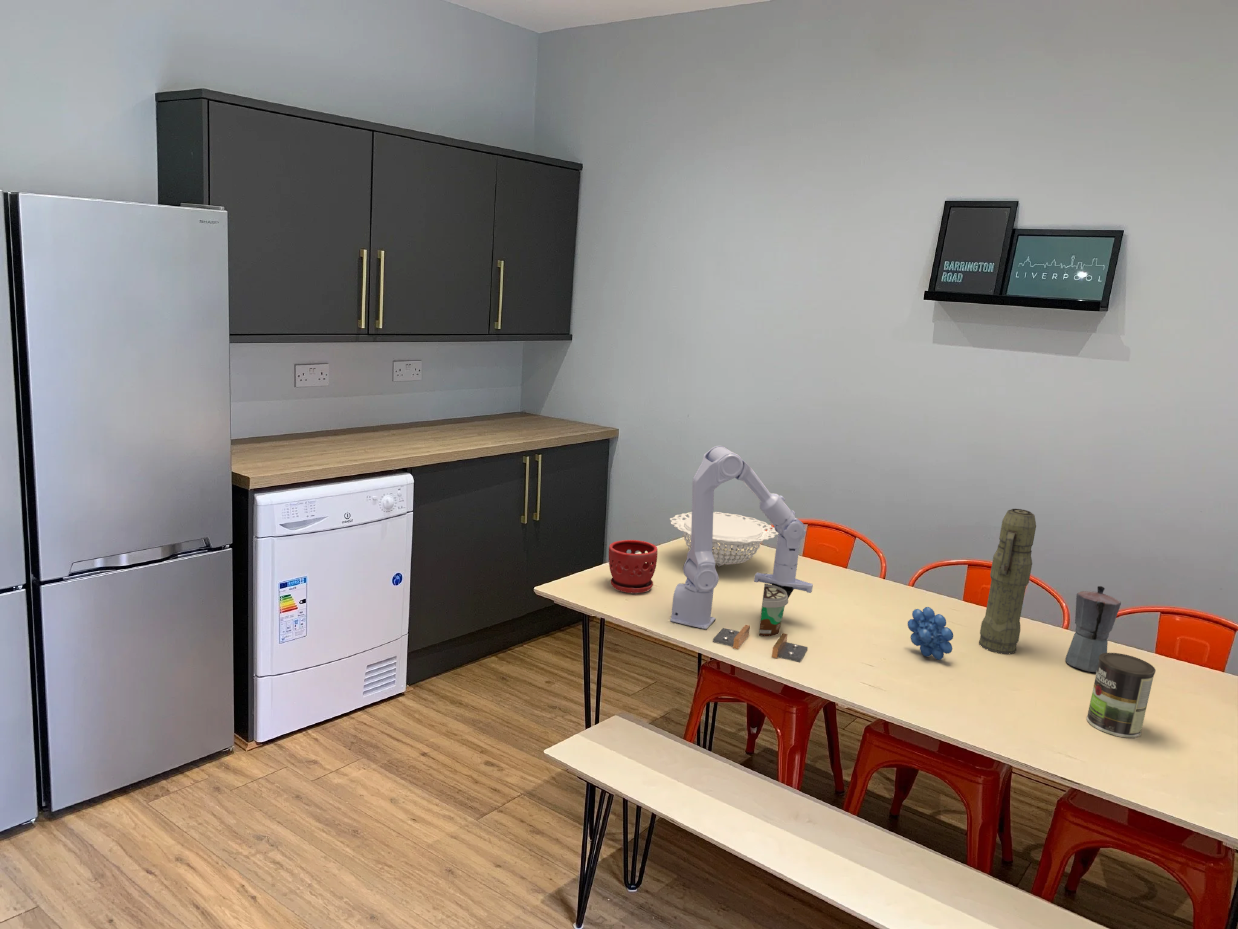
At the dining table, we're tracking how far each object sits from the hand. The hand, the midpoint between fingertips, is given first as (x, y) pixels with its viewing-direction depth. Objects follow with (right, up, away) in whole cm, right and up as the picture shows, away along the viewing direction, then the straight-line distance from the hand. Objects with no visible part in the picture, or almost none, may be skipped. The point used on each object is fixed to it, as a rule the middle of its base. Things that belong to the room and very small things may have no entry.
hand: (779, 613), depth 234 cm
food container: (-3, -3, -7) cm, 8 cm away
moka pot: (+71, -11, -13) cm, 73 cm away
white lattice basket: (-11, +7, +41) cm, 43 cm away
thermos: (+53, -8, -5) cm, 54 cm away
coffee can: (+62, -17, -43) cm, 77 cm away
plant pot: (-38, +4, +15) cm, 41 cm away
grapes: (+32, -8, -16) cm, 36 cm away
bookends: (-8, -5, -17) cm, 19 cm away
